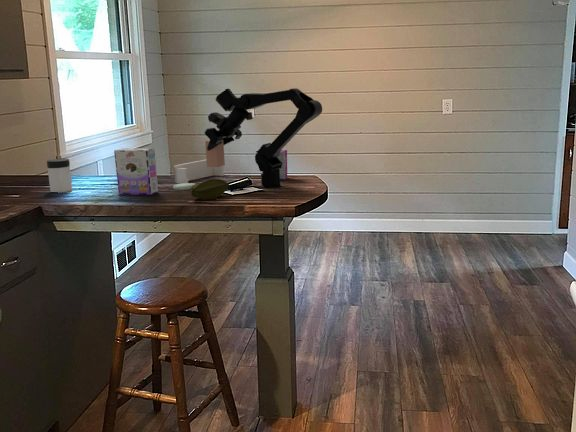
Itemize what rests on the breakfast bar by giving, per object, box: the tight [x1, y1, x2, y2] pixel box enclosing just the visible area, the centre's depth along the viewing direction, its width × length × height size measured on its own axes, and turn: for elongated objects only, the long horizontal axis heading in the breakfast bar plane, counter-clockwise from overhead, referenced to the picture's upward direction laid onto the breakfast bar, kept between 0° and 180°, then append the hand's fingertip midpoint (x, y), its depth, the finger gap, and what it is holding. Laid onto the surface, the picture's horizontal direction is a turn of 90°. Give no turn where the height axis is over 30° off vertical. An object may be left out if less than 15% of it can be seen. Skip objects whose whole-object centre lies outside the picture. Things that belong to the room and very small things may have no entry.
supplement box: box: [278, 149, 288, 181], centre depth 249 cm, size 6×6×12 cm
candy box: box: [113, 147, 159, 196], centre depth 229 cm, size 14×6×16 cm, turn 71°
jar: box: [46, 158, 73, 194], centre depth 241 cm, size 9×8×12 cm
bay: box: [173, 159, 225, 184], centre depth 256 cm, size 6×22×7 cm, turn 143°
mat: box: [172, 182, 196, 191], centre depth 238 cm, size 9×9×1 cm
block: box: [204, 139, 226, 167], centre depth 243 cm, size 5×5×10 cm
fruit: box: [189, 178, 230, 201], centre depth 216 cm, size 11×12×7 cm
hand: (211, 148), depth 243 cm, fingers closed on block, 5 cm apart
